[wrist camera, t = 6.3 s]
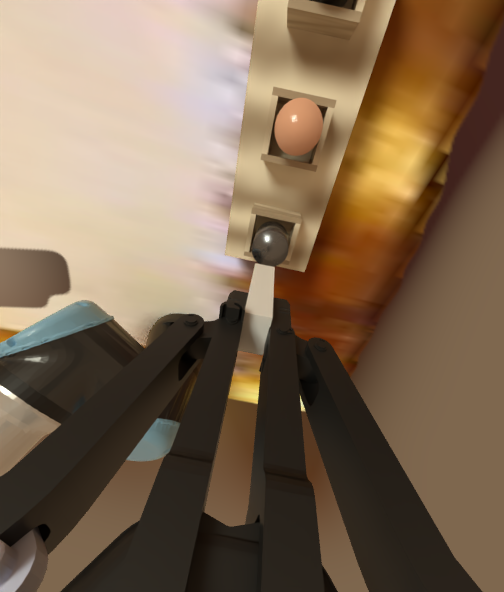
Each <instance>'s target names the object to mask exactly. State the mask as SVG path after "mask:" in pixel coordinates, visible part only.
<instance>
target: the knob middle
mask: <svg viewBox="0 0 504 592" xmlns="http://www.w3.org/2000/svg"><path fill="white" fill-rule="evenodd" d="M322 129H323V118H322V114H321V111H320V109H319V108H318V106H317V105H316V104H315V103H314V102H313V101H311V100H309V99H307V98H296V99H293V100H291V101H289V102H288V103H286V104H285V105H284V106H283V108H282V109H281V110H280V112H279V114H278V116H277V118H276V122H275V138H276V141H277V143H278V145H279V147H280V148H281V150H282V151H283V152H285V153H286V154H289V155H293V156H299V155H303V154H306V153H308V152H309V151H310V150H312V149H313V148H314V147H315V145H316V144H317V142H318V141H319V139H320V136H321V134H322Z"/></svg>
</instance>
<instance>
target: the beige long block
mask: <svg viewBox="0 0 504 592" xmlns="http://www.w3.org/2000/svg"><path fill="white" fill-rule="evenodd" d="M395 1H396V0H347V2H346V3H345V5H344V6H343V7H337V6H332V5H328V4H323V3H319V2H314V1H309V0H258V6H257V14H256V21H255V29H254V37H253V44H252V52H251V60H250V67H249V75H248V83H247V90H246V98H245V105H244V113H243V121H242V128H241V136H240V144H239V151H238V159H237V167H236V174H235V182H234V189H233V197H232V205H231V212H230V220H229V228H228V235H227V243H226V250H225V255H227V256H232V257H237V258H241V259H246V260H250V261H255V262H257V261H256V260H255V259H254V257H253V255H252V244H253V241H254V238H255V235H256V232H257V230H258V228H259V227H260V226H261V225H262V224H264V223H266V222H269V221H274V222H278V223H280V224H281V225H283V226H284V228H285V229H286V231H287V234H288V255H287V257H286V259H285V260H284V261H283V262H282V263H281V264H279V265H277V266H278V267H283V268H287V269H292V270H296V271H301V272H305V269H306V266H307V263H308V260H309V257H310V254H311V251H312V248H313V245H314V242H315V239H316V236H317V234H318V231H319V228H320V225H321V222H322V219H323V216H324V213H325V210H326V207H327V204H328V201H329V198H330V195H331V192H332V189H333V186H334V183H335V180H336V177H337V174H338V171H339V168H340V165H341V162H342V159H343V156H344V153H345V150H346V147H347V144H348V141H349V138H350V135H351V132H352V129H353V126H354V123H355V120H356V117H357V114H358V111H359V109H360V106H361V103H362V100H363V97H364V94H365V91H366V88H367V85H368V82H369V79H370V76H371V73H372V70H373V67H374V64H375V61H376V58H377V55H378V52H379V49H380V46H381V43H382V40H383V37H384V34H385V31H386V28H387V25H388V22H389V19H390V16H391V13H392V10H393V7H394V4H395ZM296 98H307V99H309V100H311V101H313V102H314V103H315V104H316V105H317V106H318V108H319V109H320V111H321V114H322V118H323V129H322V134H321V136H320V139H319V141H318V142H317V144H316V145H315V147H314V148H313V149H312V150H310V151H309V152H308V153H306V154H303V155H299V156H293V155H289V154H286V153H285V152H283V151H282V150H281V148H280V147H279V145H278V143H277V141H276V138H275V122H276V118H277V116H278V114H279V112H280V110H281V109H282V108H283V106H284V105H285V104H286V103H288V102H289V101H291V100H293V99H296Z"/></svg>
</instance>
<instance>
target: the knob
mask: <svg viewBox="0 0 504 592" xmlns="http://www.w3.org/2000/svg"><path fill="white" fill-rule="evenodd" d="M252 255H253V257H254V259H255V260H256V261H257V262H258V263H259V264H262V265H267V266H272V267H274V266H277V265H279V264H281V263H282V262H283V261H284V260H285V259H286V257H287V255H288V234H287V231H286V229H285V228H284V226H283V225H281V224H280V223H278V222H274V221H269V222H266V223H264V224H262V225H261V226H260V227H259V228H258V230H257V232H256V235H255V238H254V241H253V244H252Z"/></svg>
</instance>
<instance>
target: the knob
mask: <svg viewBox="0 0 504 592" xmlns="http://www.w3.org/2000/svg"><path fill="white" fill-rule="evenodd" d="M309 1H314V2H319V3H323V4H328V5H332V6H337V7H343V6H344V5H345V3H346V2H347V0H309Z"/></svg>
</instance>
